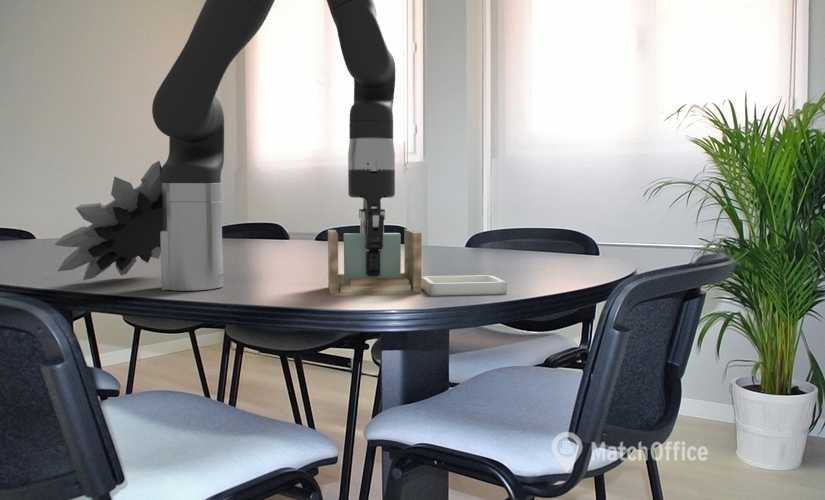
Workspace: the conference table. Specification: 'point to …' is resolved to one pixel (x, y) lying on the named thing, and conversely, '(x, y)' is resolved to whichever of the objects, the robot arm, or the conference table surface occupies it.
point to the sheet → (357, 256)
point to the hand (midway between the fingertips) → (372, 273)
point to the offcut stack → (376, 285)
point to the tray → (463, 285)
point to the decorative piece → (119, 227)
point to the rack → (410, 272)
